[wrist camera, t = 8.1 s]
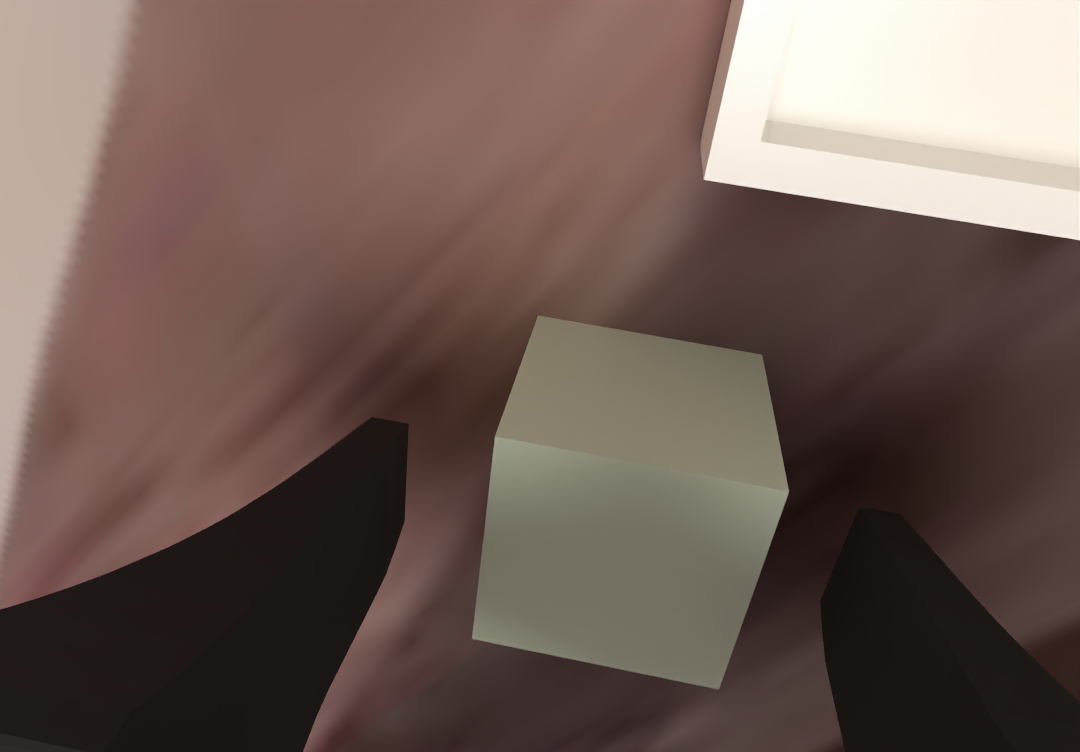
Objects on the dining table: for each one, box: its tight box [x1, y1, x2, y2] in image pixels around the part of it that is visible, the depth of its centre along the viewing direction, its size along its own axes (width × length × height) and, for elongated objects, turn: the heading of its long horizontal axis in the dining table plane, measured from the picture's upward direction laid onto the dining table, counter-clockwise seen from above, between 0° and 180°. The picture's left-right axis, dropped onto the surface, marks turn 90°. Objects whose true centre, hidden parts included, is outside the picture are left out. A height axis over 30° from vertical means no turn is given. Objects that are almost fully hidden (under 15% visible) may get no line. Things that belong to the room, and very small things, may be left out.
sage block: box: [472, 315, 789, 689], centre depth 14 cm, size 4×4×4 cm
